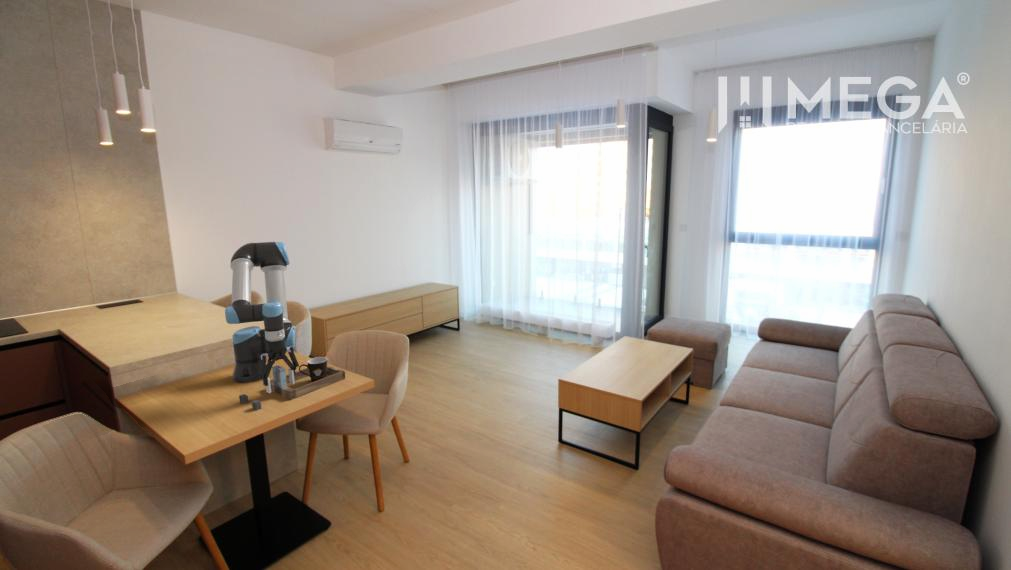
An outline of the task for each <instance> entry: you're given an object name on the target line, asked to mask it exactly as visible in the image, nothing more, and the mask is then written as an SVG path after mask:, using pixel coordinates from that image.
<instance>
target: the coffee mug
mask: <svg viewBox="0 0 1011 570" xmlns="http://www.w3.org/2000/svg"><path fill="white" fill-rule="evenodd" d="M306 363H307V364H304V363H303V364H300V365H299V366H298V371H300V372H301V373H303V374H305V375H307V376H306V377H310V380H311V383H312V382H314V381H317V380H320V379H322V378H325V377H328V374H327V365H328V358H327V357H325V356H316V357H312V358H310V359H308V360H307V361H306ZM302 367H306V368H308V369H309V372H310V375H308V374H306V373H304V372H302V371H301V370H302V369H301V368H302Z"/></svg>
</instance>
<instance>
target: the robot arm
mask: <svg viewBox="0 0 1011 570" xmlns="http://www.w3.org/2000/svg"><path fill="white" fill-rule="evenodd" d="M287 250H288V249H287V247H286V244H285V243H284V242H283V241H265V242H249V243H245V244H244V245H241V246H240V247H239V248H238V249H236V251H235V252H234V253H233V255H232V257H231V259H230V268H231V270H232V281H231V284H232V285H231V305H230V306H227V307H225V309H224V317H225V321H226V324H228V325H239V324H247V323H253V322H254V323H257V322H263V326H264V328H263V329H262V328H260V326H258V325H253V326H248V327H244V328H241V329H238V330H236V331H235V332H233V335H232V345H233V354H234V362H235V365H234V368H233V372H232V379H233V381H234V382H237V383H251V382H256V381H259V380H262V384H263V386H264V387H265V392H266V393H268V394H271V393H272V391H271V384H270V381H271V378H270V377H269V376H270V374H271V371H272V367H273V366H274V364H275V362H276V361H279V360H283V361H284V363H285V364H286V365H287V366H288V367H289V369H288V372H287V373H288V374H289V381H290V382H289V384H291V385H295V383H296V382H295V381H296V380H295V381H294V376H295V372H296V370H297V368H299V366H300V365H299V362H298V360H297V357H296V355H295V352H294V349H295V345H296V344H295V343H296V326H295V325H293V323H292V321H290V319H289V318H288V317H289V316H288V305H287V303H288V302H287V295H286V282H285V271H286V270H287V269H288V268H287V267H288V265H290V260H289V254H288V251H287ZM257 267H260V268H259V269H260V271H261V272H262V273H263V274H264V285H265V297H266V303H257V304H256V303H255V304H252V271H253V269H254V268H257ZM286 353H288V356H289V358H290V359H289V358H288V356H287V354H286Z"/></svg>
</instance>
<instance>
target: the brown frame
mask: <svg viewBox="0 0 1011 570" xmlns="http://www.w3.org/2000/svg"><path fill="white" fill-rule="evenodd" d="M300 370H301V371H302V372H304V373H306V374H308V375H310V372H309V369H308V368H307V367H306V368H303V369H300ZM271 371H272V378H273V379H272V380H271V379H270V384H271V393H275V394H277V395H278V396H282V397H284V398H286V399H289V400H294V399H296V398H299V397H301V396H304V395H307V394H309V393H311V392H315V391H317V390H319V389H321V388H324V387H326V386H330V385H332V384H334V383H336V382H339V381H342V380H344V379H346V371H345V370H342V369H340V368H336V367H334V366H331V365H328V364H327V376H326V377H325V378H322V379H320V380H317V381H314V382H312V381H311V382H310V383H307V384H304V385H302V386H298V387H296V388H292V387H289V386H288V384H290V381H289V373H288V374H287V373H286V372H287V371H286V367H283V366H281V365H278V364H276V365H273V366H272V369H271ZM306 377H308V376H307V375H305V374H303V373H301V372H300V371H299V370H297V371H295V376H294V381H297V380H300V379H303V378H306Z"/></svg>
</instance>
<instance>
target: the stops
mask: <svg viewBox="0 0 1011 570" xmlns="http://www.w3.org/2000/svg"><path fill="white" fill-rule="evenodd" d="M238 398H239V403H241V404H242V405H245V404H247V403H249V396H248V395H247V394H245V393H242V394H240V395H239V396H238ZM251 404H252V405H251V406H252V409H253V410H254V411H259V410H260V409H262V402H261V401H260V400H258V399H256V400H252V401H251Z"/></svg>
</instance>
